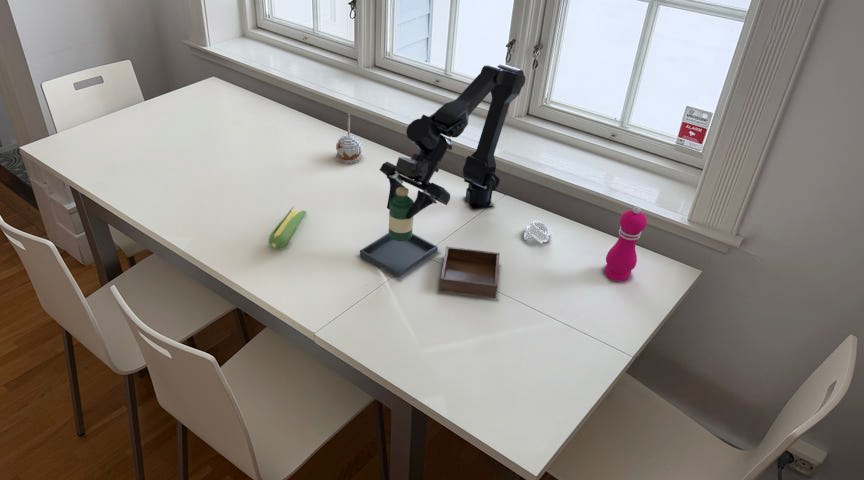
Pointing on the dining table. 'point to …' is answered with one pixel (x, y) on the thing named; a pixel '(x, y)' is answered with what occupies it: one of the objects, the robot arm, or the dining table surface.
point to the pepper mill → (625, 246)
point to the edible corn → (286, 229)
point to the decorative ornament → (348, 147)
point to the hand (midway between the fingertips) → (397, 213)
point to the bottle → (400, 216)
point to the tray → (398, 253)
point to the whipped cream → (537, 232)
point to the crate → (470, 272)
